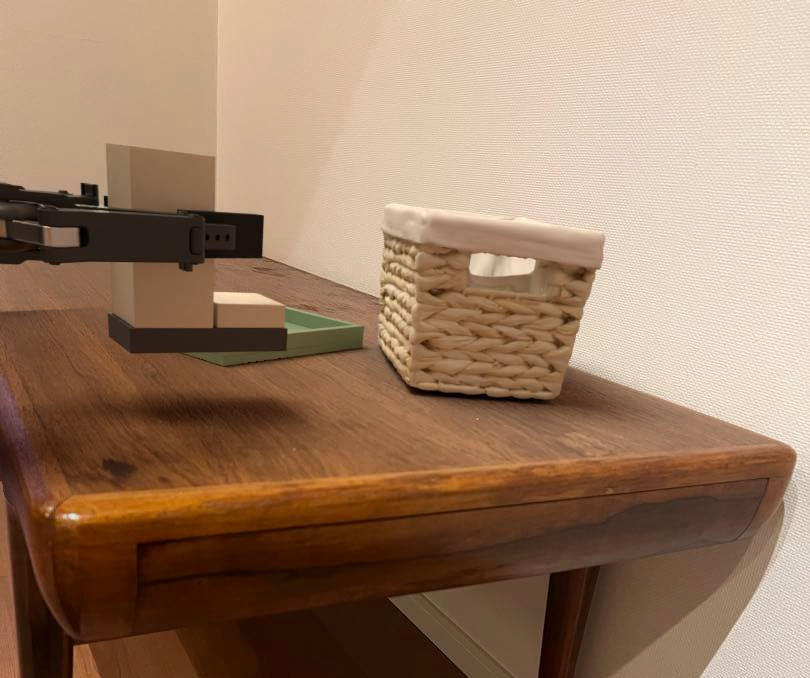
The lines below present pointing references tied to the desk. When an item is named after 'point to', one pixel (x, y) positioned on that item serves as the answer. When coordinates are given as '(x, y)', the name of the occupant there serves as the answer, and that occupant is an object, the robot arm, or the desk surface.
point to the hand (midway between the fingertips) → (221, 229)
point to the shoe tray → (299, 339)
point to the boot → (167, 284)
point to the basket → (483, 300)
